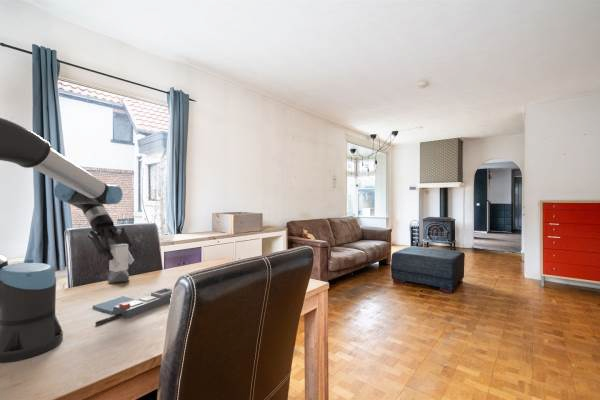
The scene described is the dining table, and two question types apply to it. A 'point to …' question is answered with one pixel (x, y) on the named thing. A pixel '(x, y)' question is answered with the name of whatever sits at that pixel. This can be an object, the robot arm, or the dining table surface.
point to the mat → (111, 304)
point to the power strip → (140, 305)
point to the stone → (118, 276)
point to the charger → (119, 257)
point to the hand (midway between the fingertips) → (124, 263)
